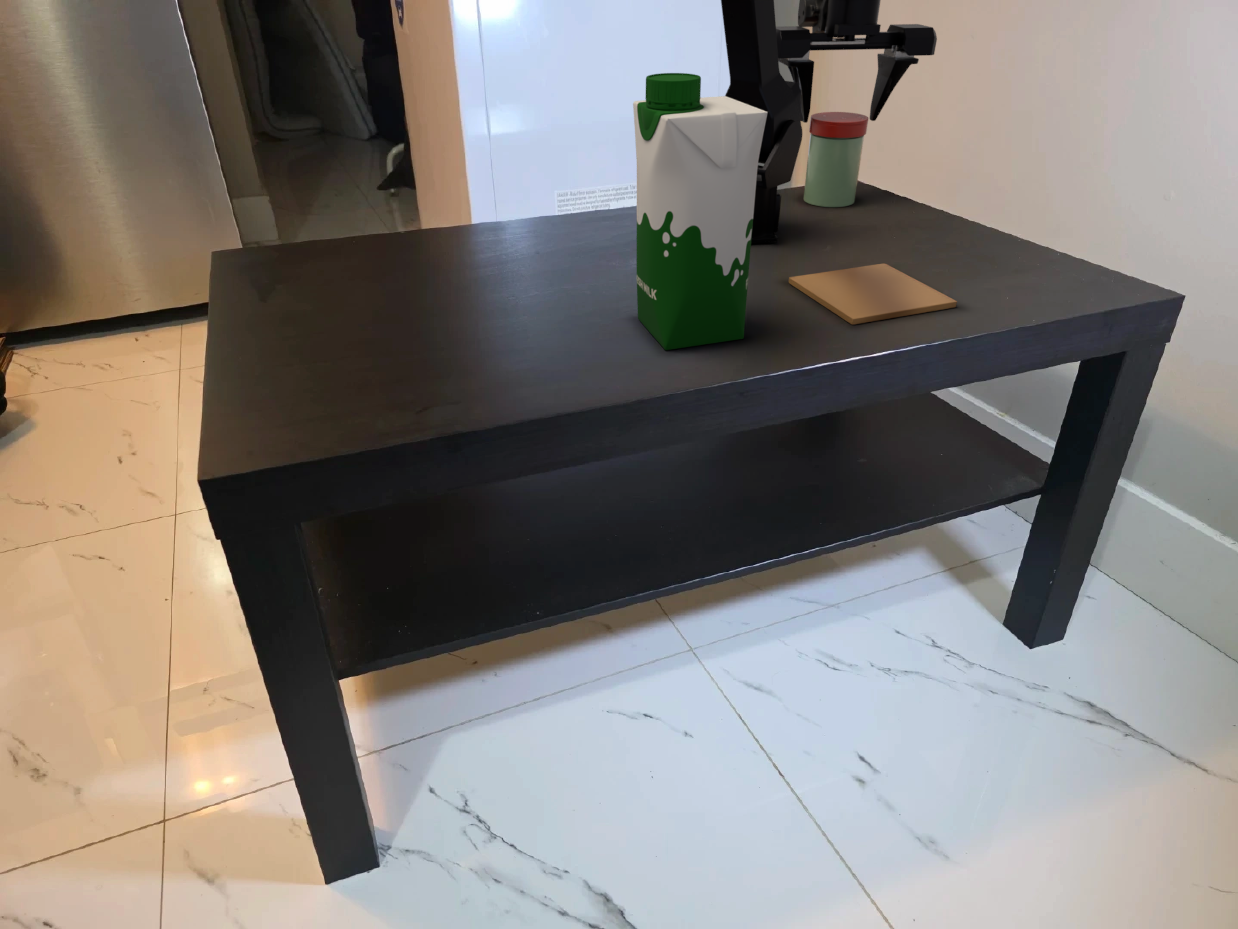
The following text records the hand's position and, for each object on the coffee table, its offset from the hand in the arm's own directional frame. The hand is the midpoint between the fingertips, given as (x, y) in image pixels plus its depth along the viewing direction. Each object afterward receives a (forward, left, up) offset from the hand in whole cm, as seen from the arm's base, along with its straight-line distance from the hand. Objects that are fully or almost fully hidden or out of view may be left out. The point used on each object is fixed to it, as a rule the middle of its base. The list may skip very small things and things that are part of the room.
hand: (838, 121), depth 98 cm
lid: (0, 0, 0) cm, 0 cm away
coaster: (-6, -32, -10) cm, 34 cm away
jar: (0, 0, -10) cm, 10 cm away
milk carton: (-24, -38, -10) cm, 46 cm away
